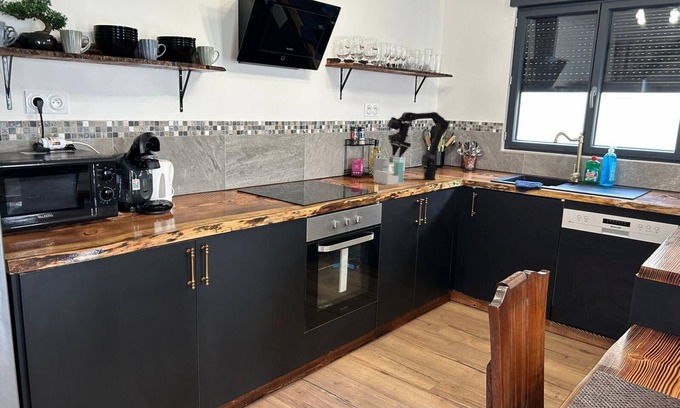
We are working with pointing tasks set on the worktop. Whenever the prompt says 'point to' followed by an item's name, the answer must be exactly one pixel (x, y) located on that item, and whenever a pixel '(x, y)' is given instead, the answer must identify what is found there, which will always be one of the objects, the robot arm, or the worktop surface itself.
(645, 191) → the worktop surface
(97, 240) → the worktop surface
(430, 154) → the robot arm
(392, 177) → the socket
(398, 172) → the teal rectangular block
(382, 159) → the supplement box
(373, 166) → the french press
